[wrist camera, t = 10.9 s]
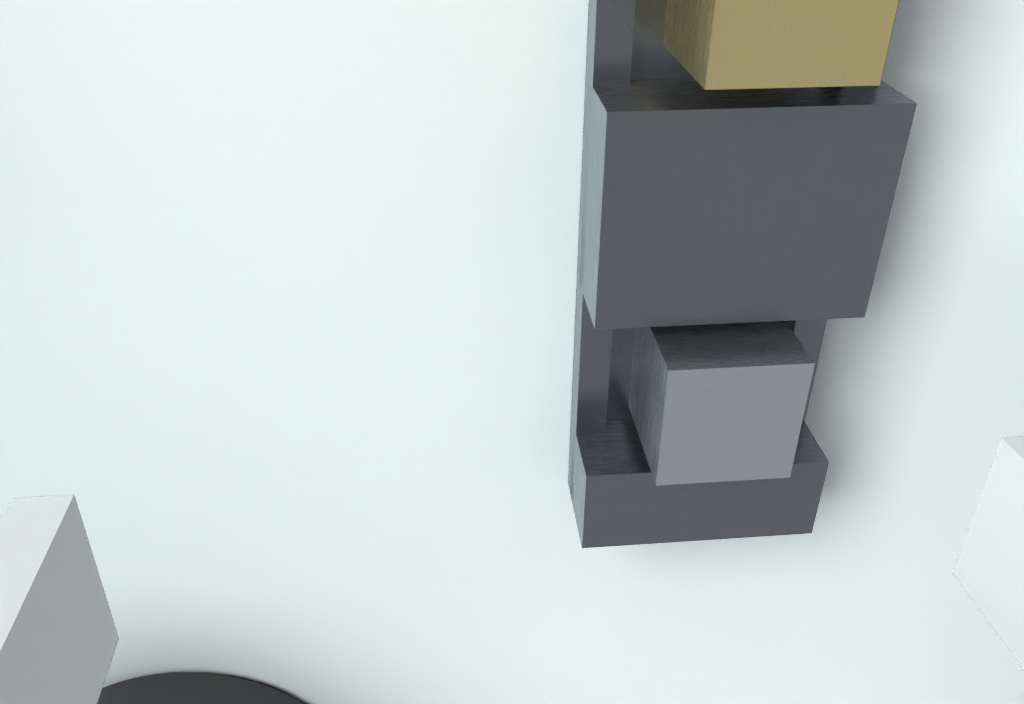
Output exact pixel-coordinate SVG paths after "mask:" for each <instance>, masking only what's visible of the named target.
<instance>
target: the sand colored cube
mask: <svg viewBox="0 0 1024 704" xmlns="http://www.w3.org/2000/svg"><path fill="white" fill-rule="evenodd" d="M898 1H899V0H667V7H666V18H665V29H664V40H663V46H664V47H665V48H666V49H667V50H668V51H669V52H670V53H671V54H672V55H673V56H674V58H675V59H676V60H677V61H678V62H679V63H680V64H681V65H682V66H683V67H684V68H685V69H686V70H687V71H688V72H689V74H690V75H691V76H692V77H693V78H694V79H695V80H696V81H697V82H698V83H699V84H700V85H701V86H702V87H703V88H704V89H705V90H720V89H760V88H799V87H839V86H878V85H880V82H881V78H882V73H883V69H884V64H885V60H886V55H887V50H888V46H889V41H890V37H891V32H892V28H893V23H894V19H895V14H896V10H897V5H898Z"/></svg>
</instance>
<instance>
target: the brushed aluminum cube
mask: <svg viewBox="0 0 1024 704" xmlns="http://www.w3.org/2000/svg"><path fill="white" fill-rule="evenodd" d="M814 365H815V363H814V361H813V360H812V358H811V357H810V355H809V354H808V353H807V351H806V350H805V348H804V347H803V345H802V344H801V342H800V341H799V339H798V338H797V336H796V335H795V334H794V332H793V331H792V329H791V328H790V326H789V325H788V323H787V322H786V321H770V322H748V323H727V324H706V325H684V326H663V327H642V328H635V333H634V345H633V356H632V368H631V380H630V391H629V403H628V405H629V408H630V411H631V414H632V417H633V420H634V423H635V426H636V429H637V432H638V435H639V438H640V441H641V444H642V447H643V450H644V453H645V455H646V458H647V461H648V464H649V467H650V470H651V473H652V476H653V479H654V482H655V485H656V486H658V485H674V484H691V483H707V482H724V481H741V480H757V479H774V478H790V476H791V471H792V466H793V462H794V457H795V453H796V448H797V443H798V439H799V434H800V430H801V425H802V420H803V416H804V411H805V407H806V402H807V397H808V393H809V388H810V384H811V379H812V374H813V370H814Z"/></svg>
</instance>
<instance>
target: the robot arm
mask: <svg viewBox="0 0 1024 704" xmlns="http://www.w3.org/2000/svg"><path fill="white" fill-rule="evenodd" d="M952 574H953V576H954V577H955V578H956V580H957V581H958V582H959V584H960V585H961V587H962V588H963V589H964V591H965V592H966V593H967V595H968V596H969V597H970V599H971V600H972V601H973V603H974V604H975V606H976V607H977V608H978V610H979V611H980V612H981V614H982V615H983V616H984V618H985V619H986V620H987V622H988V623H989V625H990V626H991V627H992V629H993V630H994V631H995V633H996V634H997V635H998V637H999V638H1000V640H1001V641H1002V642H1003V644H1004V645H1005V646H1006V648H1007V649H1008V650H1009V652H1010V653H1011V654H1012V656H1013V657H1014V659H1015V660H1016V661H1017V663H1018V664H1019V665H1020V667H1021V668H1022V669H1023V671H1024V436H1018V437H1002V438H1001V441H1000V444H999V446H998V449H997V452H996V455H995V457H994V460H993V463H992V466H991V468H990V471H989V474H988V477H987V479H986V482H985V485H984V487H983V490H982V493H981V496H980V498H979V501H978V504H977V507H976V509H975V512H974V515H973V518H972V520H971V523H970V526H969V528H968V531H967V534H966V537H965V539H964V542H963V545H962V548H961V550H960V553H959V556H958V559H957V561H956V564H955V567H954V570H953V572H952ZM118 639H119V637H118V634H117V631H116V628H115V624H114V621H113V618H112V615H111V612H110V608H109V605H108V602H107V599H106V595H105V592H104V589H103V586H102V583H101V579H100V576H99V573H98V570H97V566H96V563H95V560H94V557H93V554H92V550H91V547H90V544H89V541H88V537H87V534H86V531H85V528H84V525H83V521H82V518H81V515H80V512H79V509H78V505H77V502H76V499H75V496H74V494H72V495H56V496H40V497H23V498H13V500H12V501H11V503H10V505H9V507H8V509H7V510H6V512H5V514H4V516H3V518H2V519H1V521H0V704H303V703H301V702H300V701H298V700H296V699H295V698H293V697H291V696H289V695H287V694H285V693H283V692H281V691H278V690H276V689H274V688H271V687H268V686H265V685H263V684H259V683H256V682H253V681H249V680H245V679H241V678H235V677H230V676H224V675H217V674H206V673H167V674H157V675H150V676H144V677H139V678H134V679H130V680H126V681H122V682H119V683H116V684H113V685H110V686H107V687H105V688H102V687H103V684H104V681H105V678H106V675H107V672H108V669H109V666H110V663H111V660H112V657H113V654H114V651H115V648H116V645H117V642H118Z"/></svg>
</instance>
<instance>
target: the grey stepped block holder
mask: <svg viewBox="0 0 1024 704" xmlns="http://www.w3.org/2000/svg"><path fill="white" fill-rule="evenodd" d="M666 7H667V0H589V12H588V35H587V58H586V81H585V104H584V127H583V150H582V174H581V197H580V220H579V243H578V266H577V289H576V312H575V335H574V358H573V381H572V404H571V428H570V451H569V474H568V484H569V489H570V494H571V498H572V503H573V508H574V512H575V517H576V522H577V526H578V531H579V536H580V540H581V545H582V548H589V547H605V546H620V545H635V544H651V543H666V542H681V541H697V540H712V539H728V538H743V537H758V536H774V535H789V534H804V533H812V529H813V525H814V521H815V516H816V512H817V508H818V504H819V500H820V496H821V492H822V488H823V484H824V480H825V476H826V472H827V467H828V463H829V461H828V460H827V458H826V457H825V455H824V453H823V452H822V450H821V448H820V447H819V445H818V443H817V442H816V440H815V438H814V437H813V435H812V433H811V432H810V430H809V428H808V427H807V425H806V424H805V422H804V421H805V417H806V412H807V408H808V403H809V398H810V394H811V389H812V385H813V380H814V376H815V371H816V366H817V362H818V357H819V353H820V348H821V344H822V339H823V335H824V330H825V325H826V321H827V319H834V318H855V317H864V316H865V312H866V308H867V304H868V300H869V296H870V292H871V288H872V284H873V280H874V275H875V271H876V267H877V263H878V259H879V255H880V251H881V247H882V243H883V239H884V235H885V231H886V226H887V222H888V218H889V214H890V210H891V206H892V202H893V198H894V194H895V190H896V186H897V182H898V177H899V173H900V169H901V165H902V161H903V157H904V153H905V149H906V145H907V141H908V137H909V133H910V128H911V124H912V120H913V116H914V112H915V108H916V104H917V103H915V102H914V101H912V100H911V99H909V98H908V97H906V96H904V95H903V94H901V93H900V92H898V91H897V90H895V89H893V88H892V87H890V86H889V85H887V84H886V83H884V82H883V81H881V82H880V85H878V86H839V87H799V88H760V89H720V90H705V89H704V88H703V87H702V86H701V85H700V84H699V83H698V82H697V81H696V80H695V79H694V78H693V77H692V76H691V75H690V74H689V72H688V71H687V70H686V69H685V68H684V67H683V66H682V65H681V64H680V63H679V62H678V61H677V60H676V59H675V58H674V56H673V55H672V54H671V53H670V52H669V51H668V50H667V49H666V48H665V47H664V46H663V40H664V29H665V18H666ZM770 321H786V322H787V323H788V325H789V326H790V328H791V329H792V331H793V332H794V334H795V335H796V336H797V338H798V339H799V341H800V342H801V344H802V345H803V347H804V348H805V350H806V351H807V353H808V354H809V355H810V357H811V358H812V360H813V361H814V363H815V365H814V370H813V374H812V379H811V384H810V388H809V393H808V397H807V402H806V407H805V411H804V416H803V420H802V425H801V430H800V434H799V439H798V443H797V448H796V453H795V457H794V462H793V466H792V471H791V476H790V478H774V479H757V480H741V481H724V482H707V483H691V484H674V485H658V486H656V485H655V482H654V479H653V476H652V473H651V470H650V467H649V464H648V461H647V458H646V455H645V453H644V450H643V447H642V444H641V441H640V438H639V435H638V432H637V429H636V426H635V423H634V420H633V417H632V414H631V411H630V408H629V405H628V403H629V391H630V380H631V368H632V356H633V345H634V333H635V328H642V327H663V326H684V325H706V324H727V323H748V322H770Z"/></svg>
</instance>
